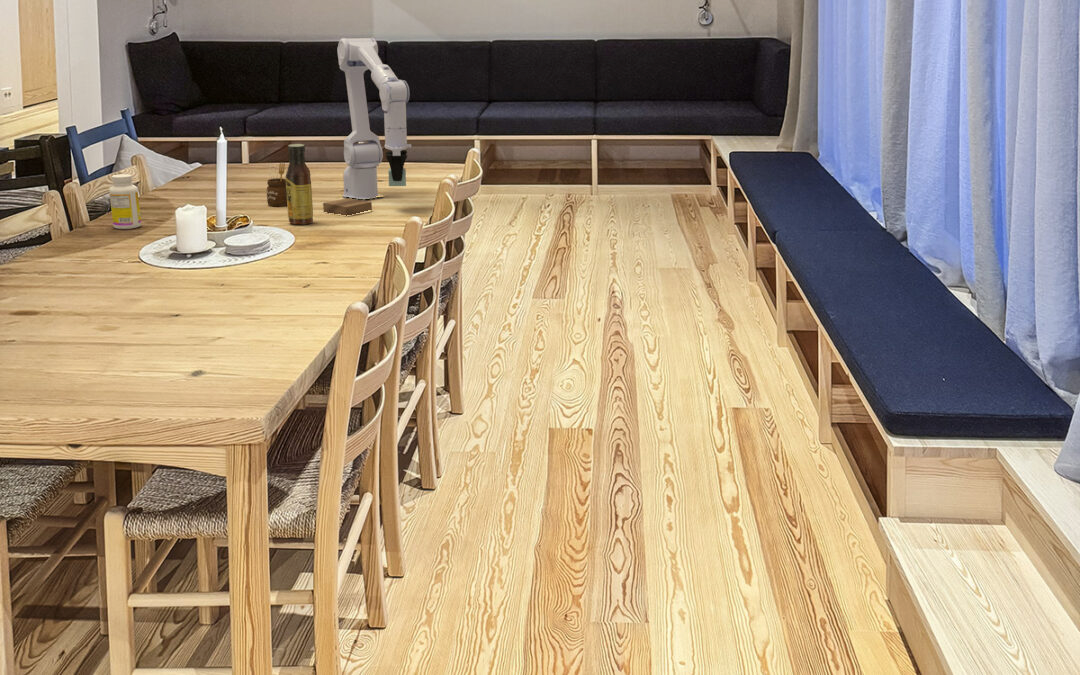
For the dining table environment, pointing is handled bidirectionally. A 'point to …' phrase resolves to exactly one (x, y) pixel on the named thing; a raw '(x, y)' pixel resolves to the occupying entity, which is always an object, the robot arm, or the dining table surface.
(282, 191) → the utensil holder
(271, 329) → the dining table surface
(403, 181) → the teal block
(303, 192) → the sauce bottle
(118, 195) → the supplement bottle
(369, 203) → the walnut slab
